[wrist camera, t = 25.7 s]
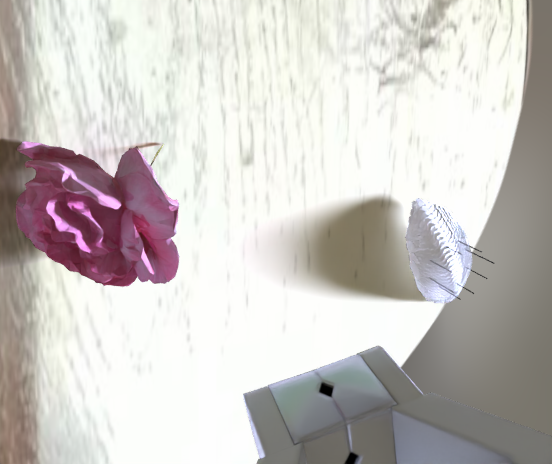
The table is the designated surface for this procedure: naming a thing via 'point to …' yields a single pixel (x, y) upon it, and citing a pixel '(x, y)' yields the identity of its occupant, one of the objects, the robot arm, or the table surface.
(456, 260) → the pincushion
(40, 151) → the flower
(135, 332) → the table surface
